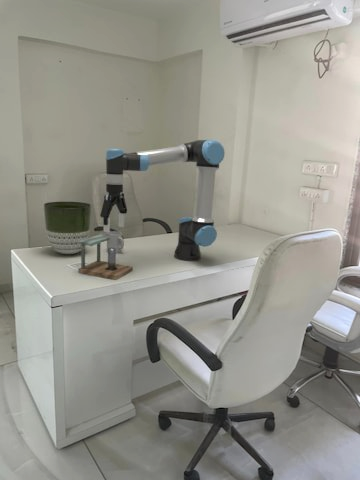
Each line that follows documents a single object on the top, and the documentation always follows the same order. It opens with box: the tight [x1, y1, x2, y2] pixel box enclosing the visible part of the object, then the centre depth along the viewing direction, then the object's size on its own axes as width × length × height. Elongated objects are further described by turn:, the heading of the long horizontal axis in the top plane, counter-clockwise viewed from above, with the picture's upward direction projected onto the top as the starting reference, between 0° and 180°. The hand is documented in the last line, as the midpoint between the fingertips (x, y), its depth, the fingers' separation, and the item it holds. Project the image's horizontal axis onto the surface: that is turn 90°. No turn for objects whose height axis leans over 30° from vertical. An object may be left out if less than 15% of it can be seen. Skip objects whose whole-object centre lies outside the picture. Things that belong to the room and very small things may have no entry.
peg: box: [107, 247, 117, 271], centre depth 174 cm, size 4×4×12 cm
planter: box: [43, 201, 92, 255], centre depth 201 cm, size 24×24×27 cm
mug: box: [106, 231, 125, 254], centre depth 210 cm, size 12×8×11 cm
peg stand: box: [78, 234, 134, 281], centre depth 175 cm, size 20×16×15 cm
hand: (114, 229), depth 172 cm, fingers open, 13 cm apart
